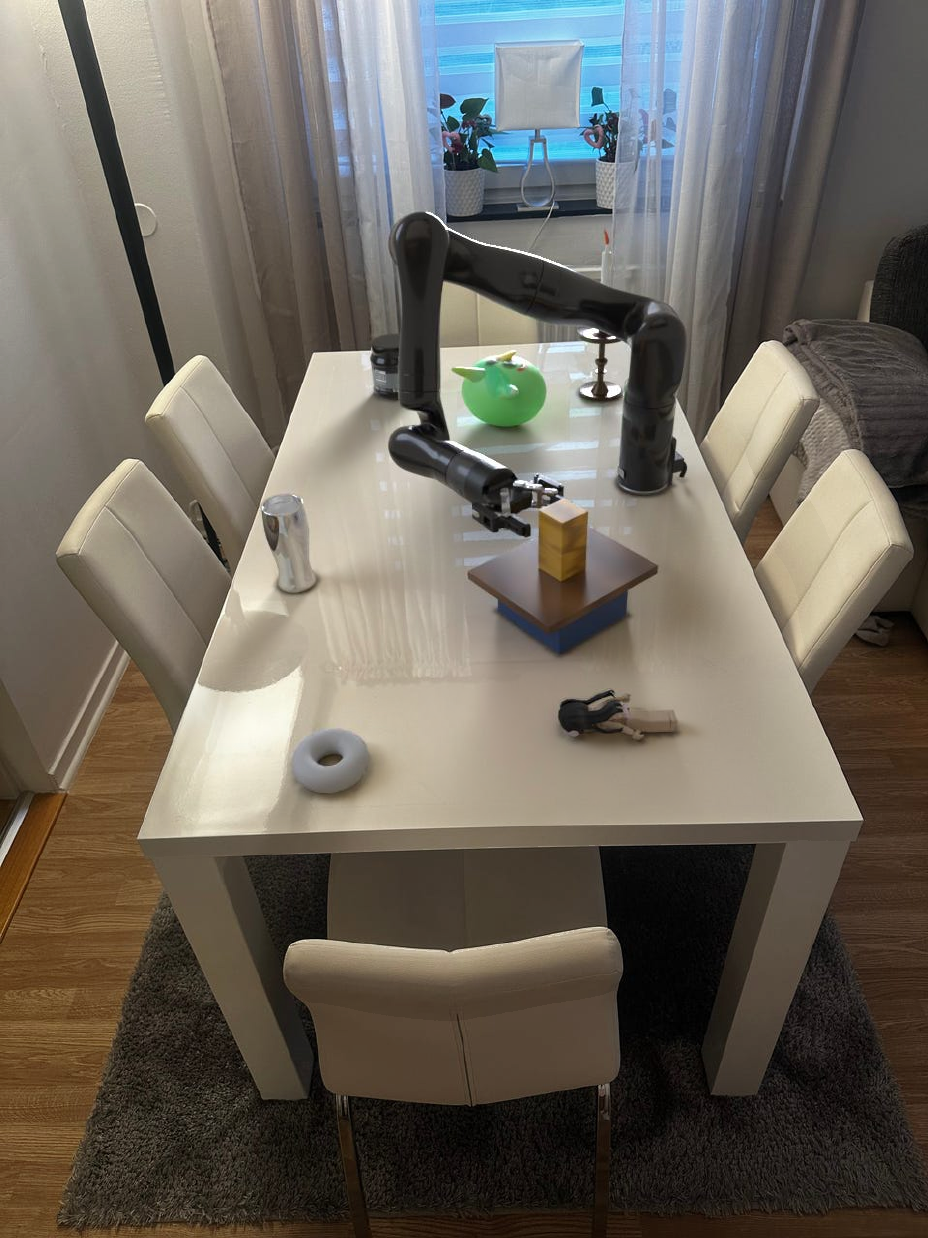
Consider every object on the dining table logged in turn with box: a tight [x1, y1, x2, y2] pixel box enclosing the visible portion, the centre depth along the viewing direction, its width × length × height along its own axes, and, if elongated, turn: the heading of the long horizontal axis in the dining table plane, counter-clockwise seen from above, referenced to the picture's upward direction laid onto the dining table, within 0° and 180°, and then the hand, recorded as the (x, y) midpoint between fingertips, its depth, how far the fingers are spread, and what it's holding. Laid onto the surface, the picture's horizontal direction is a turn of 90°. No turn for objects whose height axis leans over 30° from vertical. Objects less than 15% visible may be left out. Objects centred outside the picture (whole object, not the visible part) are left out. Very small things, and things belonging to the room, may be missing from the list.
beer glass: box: [260, 493, 316, 594], centre depth 143 cm, size 7×7×15 cm
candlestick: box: [576, 228, 622, 403], centre depth 189 cm, size 11×11×35 cm
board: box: [467, 525, 659, 635], centre depth 133 cm, size 22×18×2 cm
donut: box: [290, 728, 370, 794], centre depth 114 cm, size 10×3×10 cm
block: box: [538, 497, 589, 582], centre depth 130 cm, size 5×5×10 cm
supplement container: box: [369, 333, 400, 400], centre depth 202 cm, size 10×10×12 cm
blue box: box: [497, 590, 629, 655], centre depth 136 cm, size 14×14×7 cm
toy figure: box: [557, 687, 678, 740], centre depth 116 cm, size 7×6×15 cm
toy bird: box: [450, 350, 547, 427], centre depth 186 cm, size 18×17×15 cm
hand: (551, 520), depth 130 cm, fingers open, 8 cm apart
